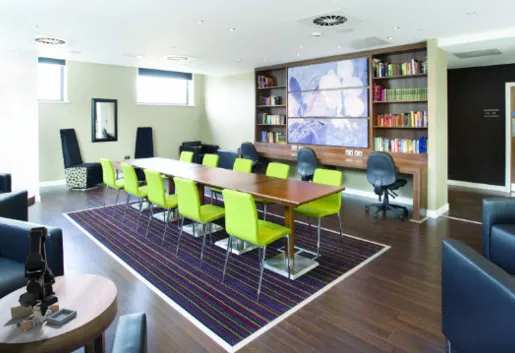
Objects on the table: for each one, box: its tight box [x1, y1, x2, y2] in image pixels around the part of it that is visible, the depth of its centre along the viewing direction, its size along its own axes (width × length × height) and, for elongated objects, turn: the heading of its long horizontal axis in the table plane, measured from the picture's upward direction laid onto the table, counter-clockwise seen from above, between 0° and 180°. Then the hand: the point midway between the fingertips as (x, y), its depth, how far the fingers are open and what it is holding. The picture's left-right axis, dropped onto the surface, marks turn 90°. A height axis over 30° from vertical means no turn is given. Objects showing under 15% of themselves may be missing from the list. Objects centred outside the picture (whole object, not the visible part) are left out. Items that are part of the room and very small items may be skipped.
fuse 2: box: [49, 303, 60, 314], centre depth 182 cm, size 3×3×4 cm
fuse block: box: [16, 306, 53, 328], centre depth 175 cm, size 7×16×2 cm, turn 160°
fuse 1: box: [19, 318, 33, 332], centre depth 168 cm, size 3×3×4 cm
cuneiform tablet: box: [10, 304, 34, 320], centre depth 179 cm, size 7×4×12 cm
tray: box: [46, 307, 78, 326], centre depth 176 cm, size 9×10×2 cm
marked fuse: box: [33, 302, 47, 324], centre depth 174 cm, size 4×4×8 cm
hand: (40, 315), depth 175 cm, fingers closed on marked fuse, 4 cm apart
